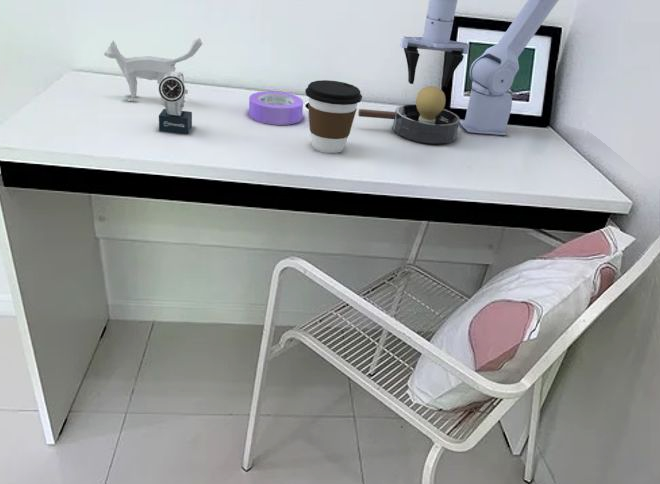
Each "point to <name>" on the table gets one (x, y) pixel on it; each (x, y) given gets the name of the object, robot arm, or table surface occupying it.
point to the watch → (174, 104)
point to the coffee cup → (331, 113)
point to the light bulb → (430, 103)
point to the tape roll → (275, 108)
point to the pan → (425, 125)
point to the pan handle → (376, 114)
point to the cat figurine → (146, 65)
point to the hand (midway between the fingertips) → (427, 84)
